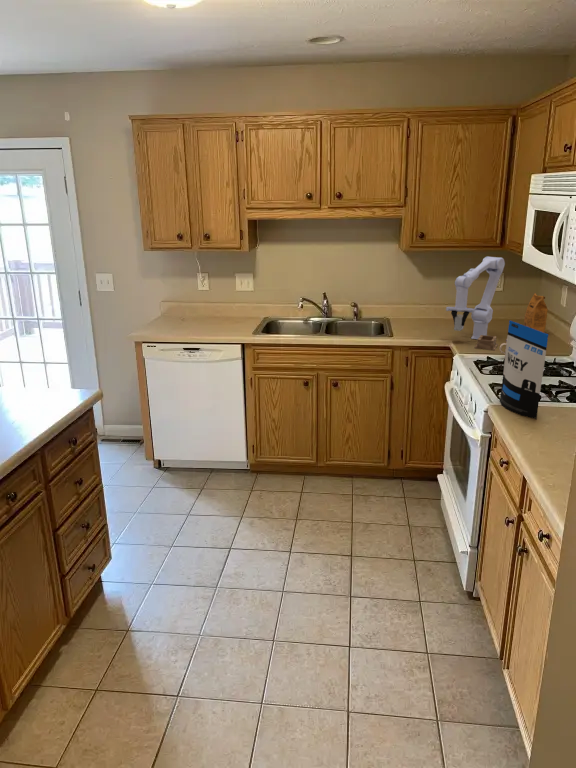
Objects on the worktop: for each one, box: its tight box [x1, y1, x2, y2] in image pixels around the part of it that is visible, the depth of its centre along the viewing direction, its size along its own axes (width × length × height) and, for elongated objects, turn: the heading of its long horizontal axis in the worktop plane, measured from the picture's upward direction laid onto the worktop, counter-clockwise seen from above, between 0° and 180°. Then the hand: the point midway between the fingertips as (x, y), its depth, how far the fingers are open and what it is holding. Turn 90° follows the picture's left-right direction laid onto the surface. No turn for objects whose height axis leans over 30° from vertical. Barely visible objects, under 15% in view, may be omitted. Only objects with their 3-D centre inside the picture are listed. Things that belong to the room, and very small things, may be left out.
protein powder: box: [499, 319, 549, 420], centre depth 206 cm, size 10×24×30 cm, turn 10°
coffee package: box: [523, 293, 549, 333], centre depth 327 cm, size 10×12×22 cm
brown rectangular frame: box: [474, 334, 499, 351], centre depth 299 cm, size 13×10×4 cm
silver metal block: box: [453, 313, 465, 332], centre depth 304 cm, size 8×4×7 cm, turn 154°
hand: (459, 325), depth 305 cm, fingers closed on silver metal block, 3 cm apart
